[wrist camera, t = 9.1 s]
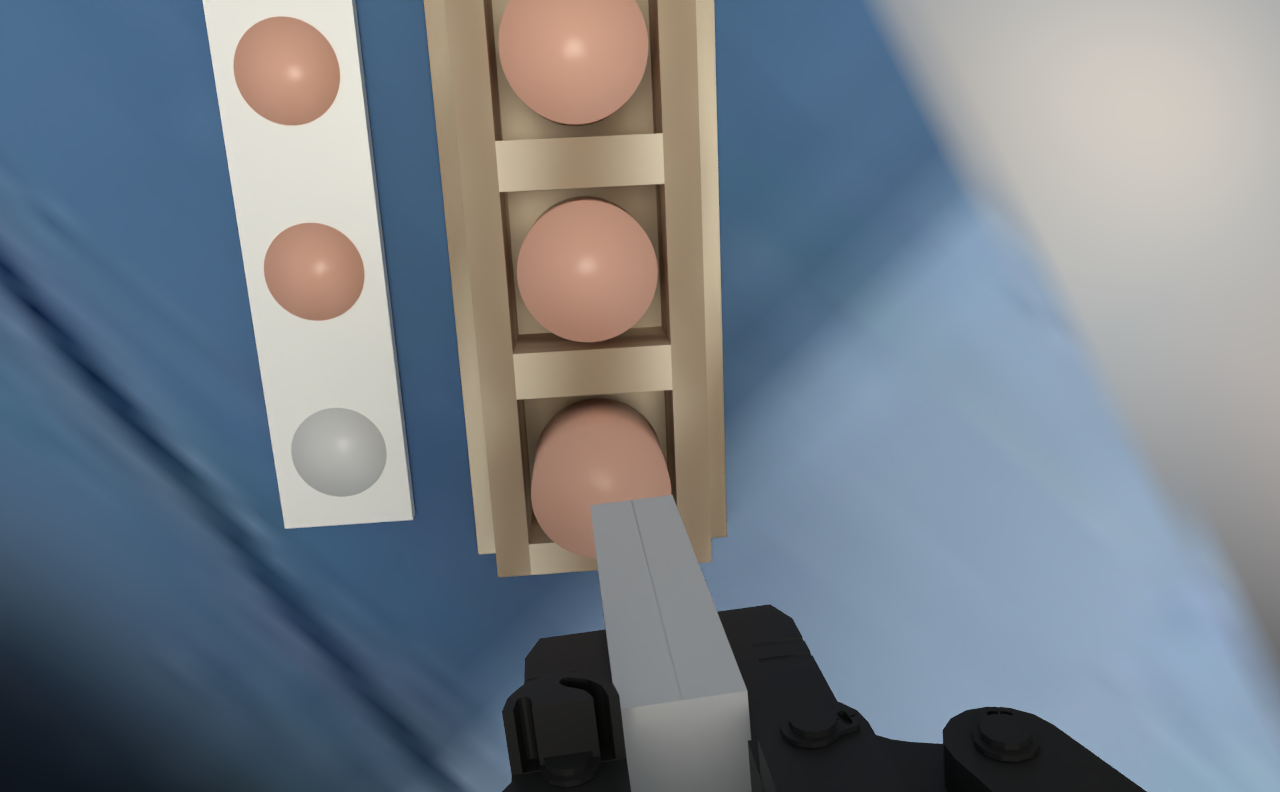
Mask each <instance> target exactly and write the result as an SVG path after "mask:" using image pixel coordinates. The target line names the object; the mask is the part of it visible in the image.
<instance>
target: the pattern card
mask: <svg viewBox="0 0 1280 792" xmlns="http://www.w3.org/2000/svg"><path fill="white" fill-rule="evenodd" d="M203 6H204V12H205V19H206V25H207V32H208V38H209V44H210V51H211V57H212V64H213V70H214V76H215V83H216V89H217V96H218V102H219V108H220V115H221V121H222V128H223V134H224V141H225V147H226V153H227V160H228V166H229V173H230V179H231V185H232V192H233V198H234V205H235V211H236V218H237V224H238V230H239V237H240V243H241V250H242V256H243V262H244V269H245V275H246V282H247V288H248V294H249V301H250V307H251V314H252V320H253V327H254V333H255V339H256V346H257V352H258V359H259V365H260V371H261V378H262V384H263V391H264V397H265V404H266V410H267V416H268V423H269V429H270V436H271V442H272V448H273V455H274V461H275V468H276V474H277V480H278V487H279V493H280V500H281V506H282V513H283V519H284V525H285V529H288V528H302V527H317V526H331V525H346V524H360V523H375V522H389V521H404V520H413V518H414V516H415V507H414V498H413V490H412V481H411V473H410V464H409V455H408V447H407V438H406V430H405V421H404V413H403V404H402V395H401V387H400V378H399V370H398V361H397V352H396V344H395V335H394V327H393V318H392V310H391V301H390V292H389V284H388V275H387V267H386V258H385V249H384V241H383V232H382V224H381V215H380V207H379V198H378V189H377V181H376V172H375V164H374V155H373V146H372V138H371V129H370V121H369V112H368V104H367V95H366V86H365V78H364V69H363V61H362V52H361V43H360V35H359V26H358V18H357V9H356V1H355V0H203Z"/></svg>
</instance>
